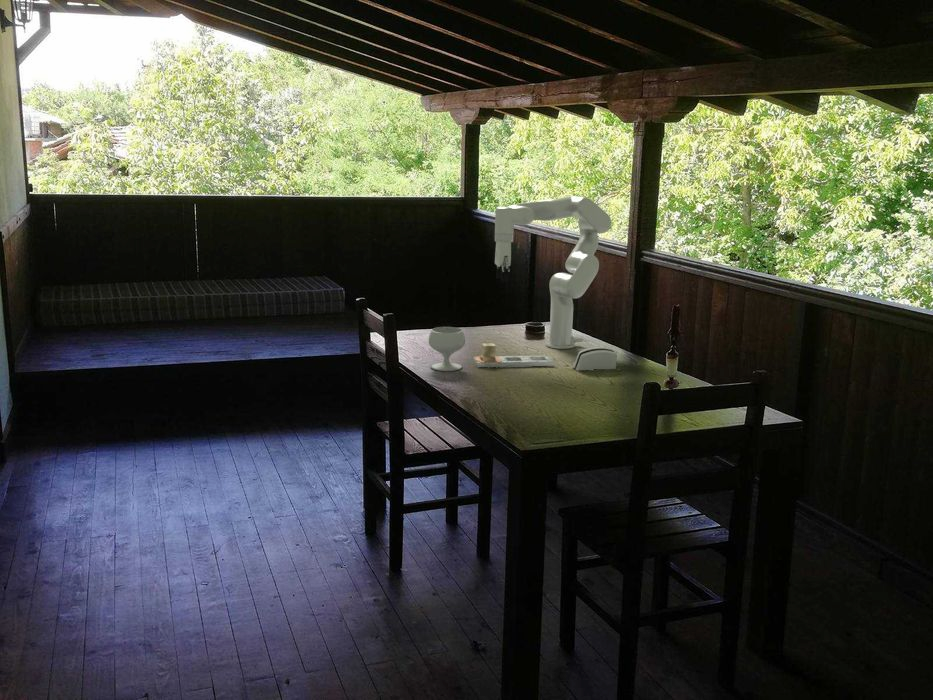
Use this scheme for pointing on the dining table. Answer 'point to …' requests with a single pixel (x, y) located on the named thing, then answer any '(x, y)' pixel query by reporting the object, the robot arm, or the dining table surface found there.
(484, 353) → the peg
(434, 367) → the chalice
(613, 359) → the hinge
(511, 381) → the dining table surface
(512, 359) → the rail
